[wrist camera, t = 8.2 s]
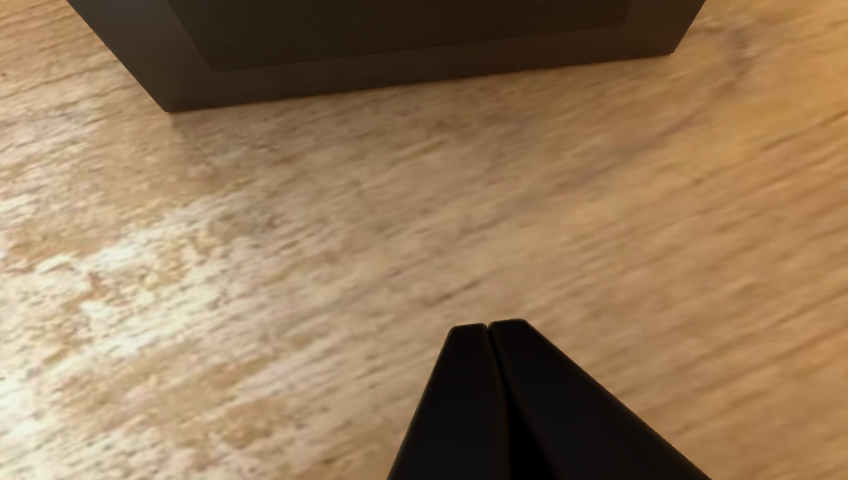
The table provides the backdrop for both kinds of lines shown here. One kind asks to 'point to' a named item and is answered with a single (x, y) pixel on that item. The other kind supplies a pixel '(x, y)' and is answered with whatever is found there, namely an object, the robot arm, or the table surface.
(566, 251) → the table surface
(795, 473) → the table surface
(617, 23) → the oven door
